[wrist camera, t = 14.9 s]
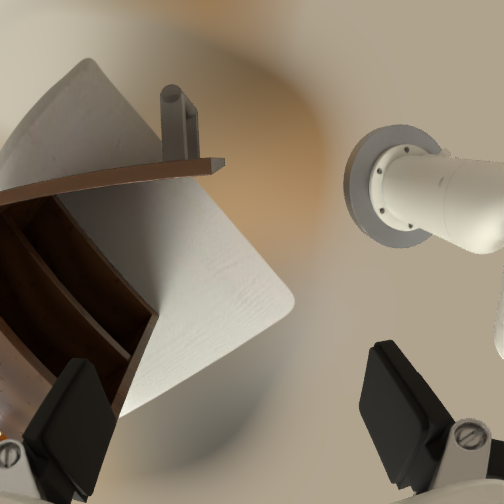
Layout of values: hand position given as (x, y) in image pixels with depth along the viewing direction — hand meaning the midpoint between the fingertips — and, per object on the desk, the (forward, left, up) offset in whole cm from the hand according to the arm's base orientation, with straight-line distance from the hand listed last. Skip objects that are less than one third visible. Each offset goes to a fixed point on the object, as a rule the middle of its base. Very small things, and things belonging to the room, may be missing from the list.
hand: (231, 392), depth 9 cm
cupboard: (+28, -8, -34) cm, 45 cm away
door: (+6, -16, -34) cm, 38 cm away
